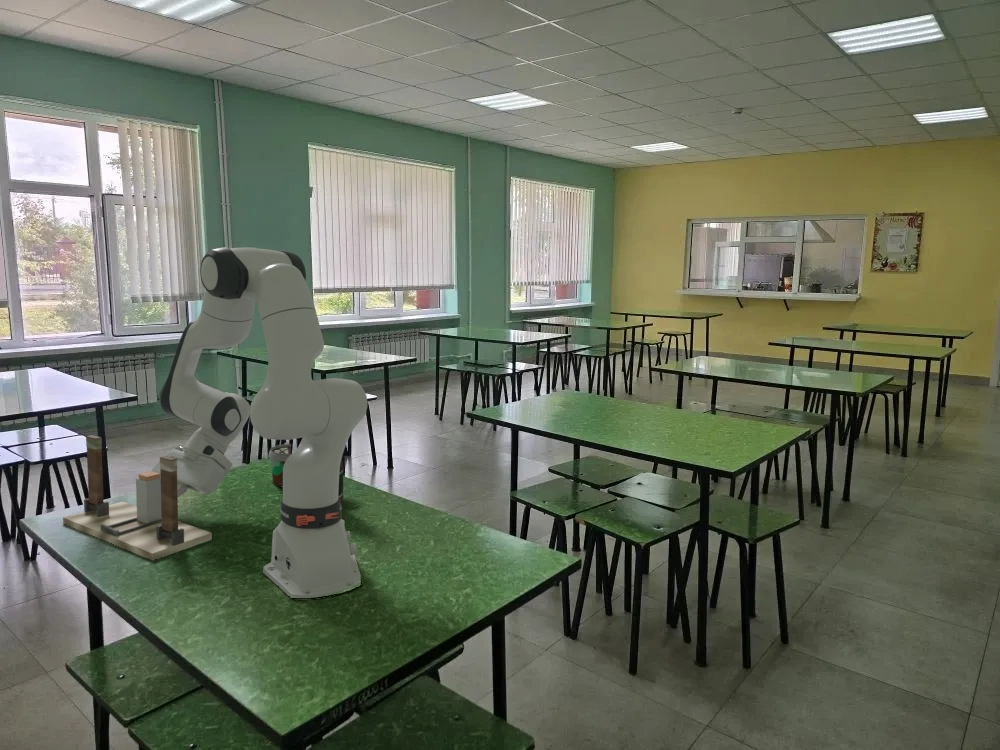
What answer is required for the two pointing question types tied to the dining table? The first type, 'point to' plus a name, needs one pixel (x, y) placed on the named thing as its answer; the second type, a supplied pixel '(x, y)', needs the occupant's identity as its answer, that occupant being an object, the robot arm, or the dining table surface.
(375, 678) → the dining table surface
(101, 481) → the wooden stick
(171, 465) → the brown lever
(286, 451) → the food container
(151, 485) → the slider
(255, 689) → the dining table surface
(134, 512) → the panel
